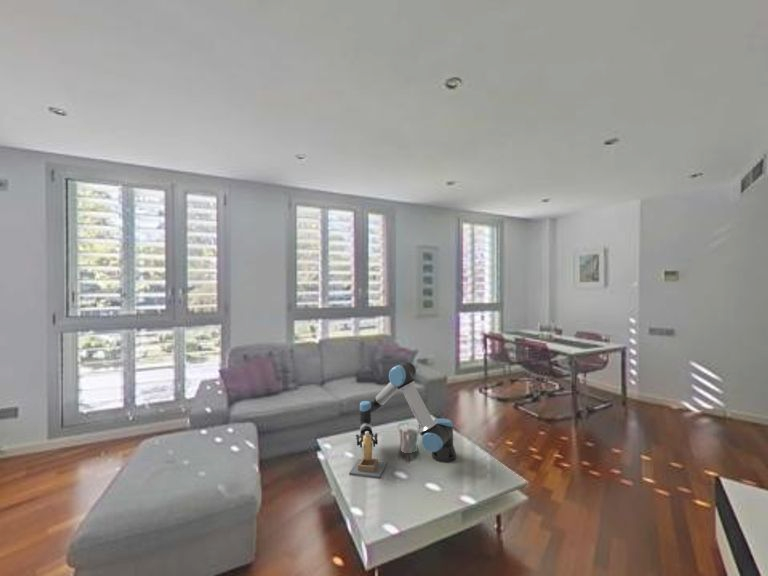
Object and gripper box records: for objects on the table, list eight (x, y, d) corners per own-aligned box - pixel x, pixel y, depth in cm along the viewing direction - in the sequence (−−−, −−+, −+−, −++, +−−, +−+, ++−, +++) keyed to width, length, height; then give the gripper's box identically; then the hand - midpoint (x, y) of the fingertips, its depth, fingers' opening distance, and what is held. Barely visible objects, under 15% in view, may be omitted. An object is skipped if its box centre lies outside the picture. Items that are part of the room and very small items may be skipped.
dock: (386, 464, 219) (386, 457, 219) (379, 478, 204) (379, 470, 204) (358, 461, 224) (358, 454, 224) (349, 474, 209) (349, 467, 209)
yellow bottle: (373, 458, 213) (372, 432, 213) (366, 460, 211) (365, 434, 210) (369, 454, 218) (368, 429, 217) (362, 457, 215) (361, 431, 214)
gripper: (380, 436, 233) (383, 454, 209) (352, 438, 231) (352, 456, 208) (380, 425, 232) (383, 441, 209) (352, 426, 231) (352, 443, 208)
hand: (367, 448), depth 209 cm, fingers closed on yellow bottle, 5 cm apart
